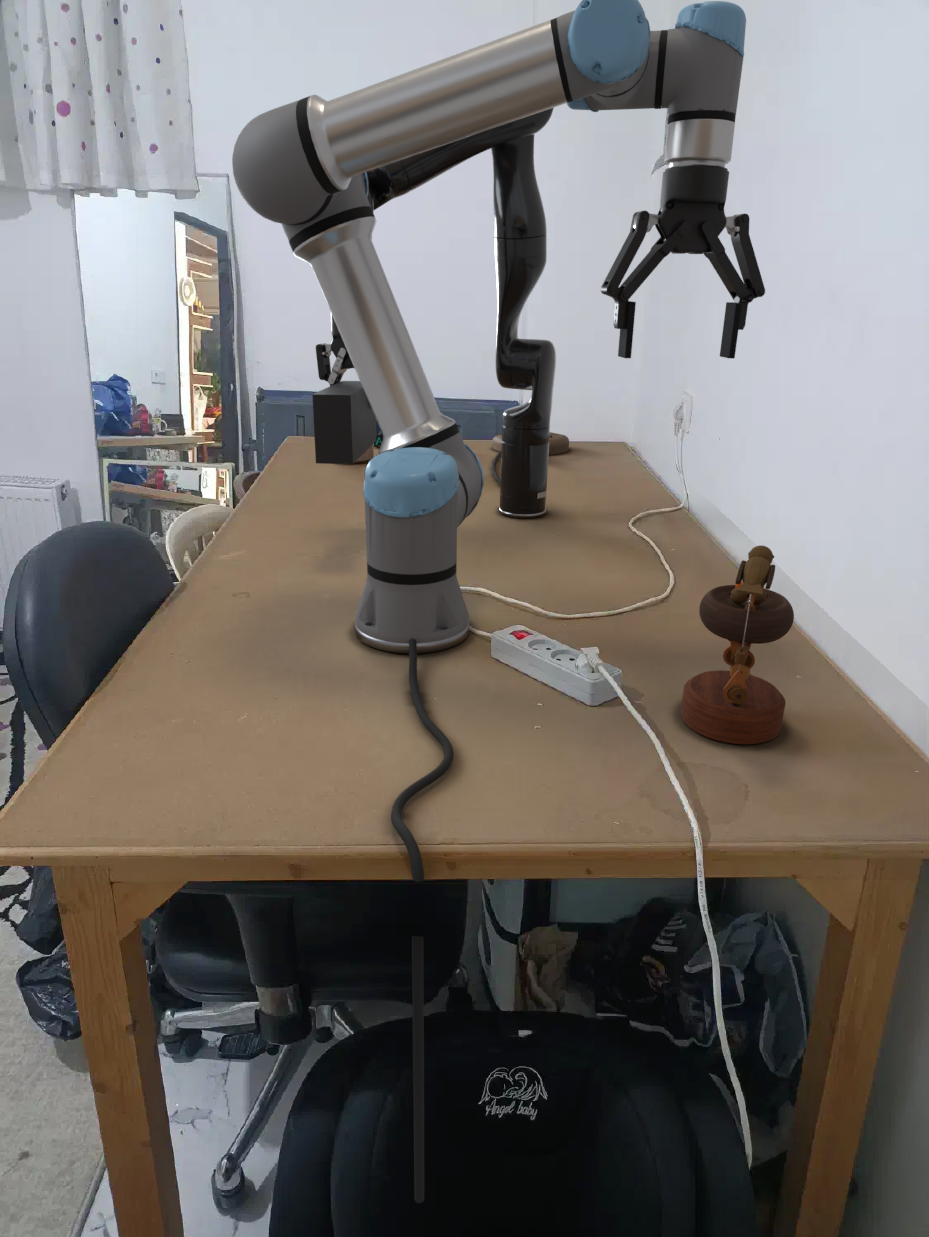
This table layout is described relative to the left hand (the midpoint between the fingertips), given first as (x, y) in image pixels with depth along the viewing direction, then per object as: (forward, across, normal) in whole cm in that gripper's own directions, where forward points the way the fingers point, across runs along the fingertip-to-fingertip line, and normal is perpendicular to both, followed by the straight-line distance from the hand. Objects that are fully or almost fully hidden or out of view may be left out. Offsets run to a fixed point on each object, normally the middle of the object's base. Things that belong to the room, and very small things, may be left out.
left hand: (676, 357), depth 106 cm
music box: (+35, +2, +29) cm, 46 cm away
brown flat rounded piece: (+35, -11, -114) cm, 120 cm away
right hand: (+13, +38, -47) cm, 62 cm away
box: (+19, +40, -38) cm, 59 cm away
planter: (+35, +38, -110) cm, 121 cm away
